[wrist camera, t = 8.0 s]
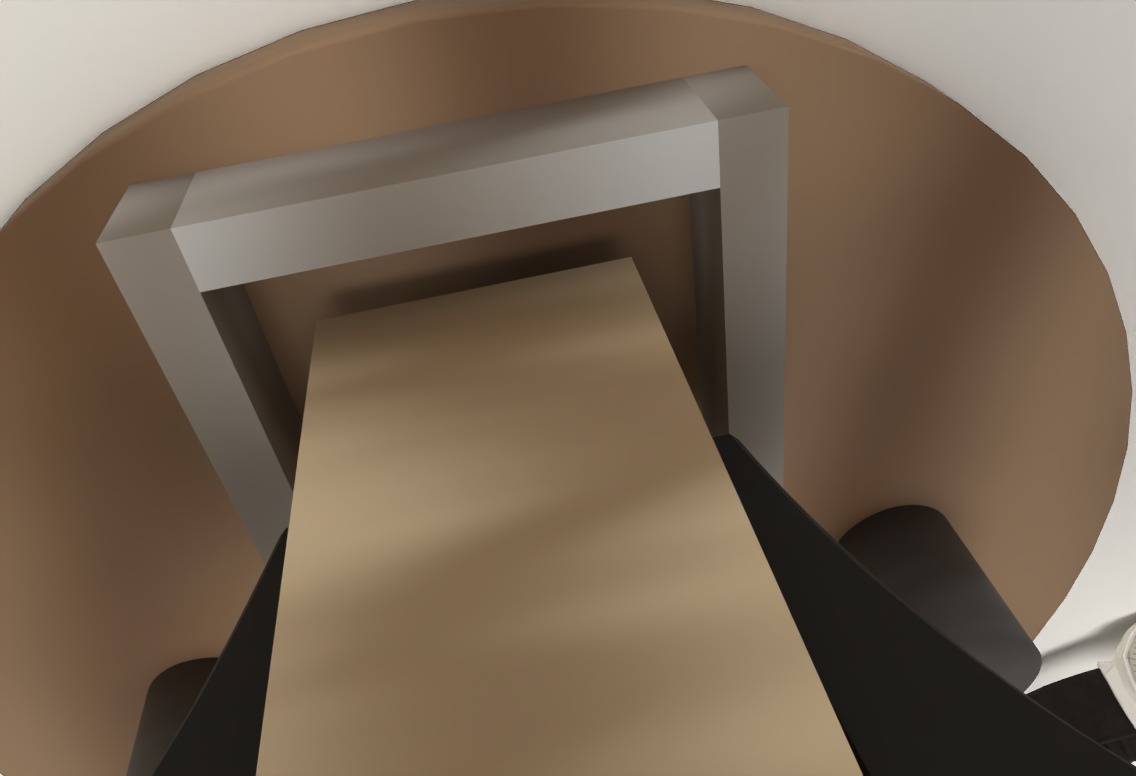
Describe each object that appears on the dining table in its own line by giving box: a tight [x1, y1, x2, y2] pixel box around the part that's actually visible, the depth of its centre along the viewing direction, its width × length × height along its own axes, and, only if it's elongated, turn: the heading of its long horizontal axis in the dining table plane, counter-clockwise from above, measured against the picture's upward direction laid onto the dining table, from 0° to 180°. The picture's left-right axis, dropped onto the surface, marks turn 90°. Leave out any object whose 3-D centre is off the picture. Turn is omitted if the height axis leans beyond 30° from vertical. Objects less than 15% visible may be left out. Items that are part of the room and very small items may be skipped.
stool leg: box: [256, 257, 863, 776], centre depth 9 cm, size 4×4×8 cm
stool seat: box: [0, 0, 1132, 776], centre depth 16 cm, size 22×22×4 cm
